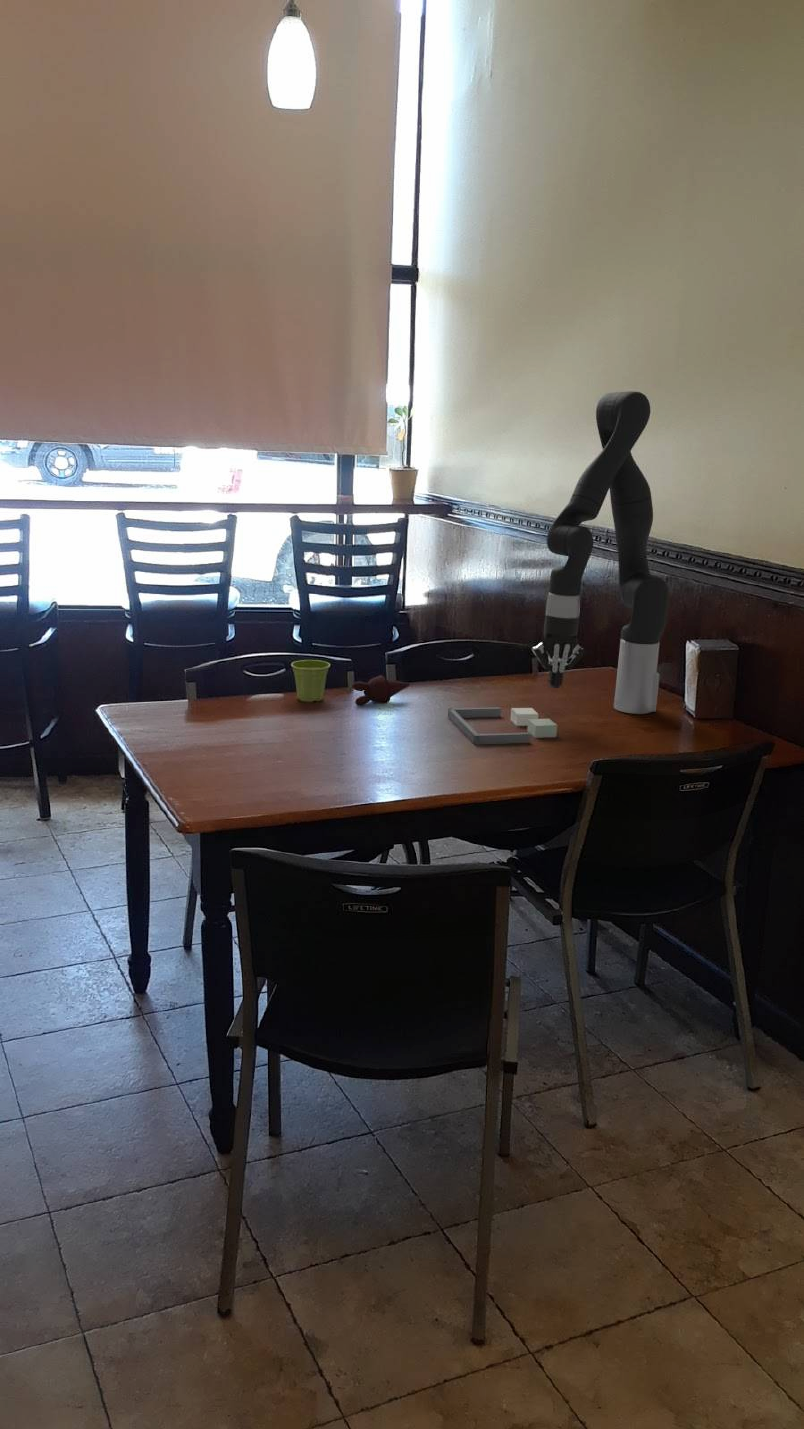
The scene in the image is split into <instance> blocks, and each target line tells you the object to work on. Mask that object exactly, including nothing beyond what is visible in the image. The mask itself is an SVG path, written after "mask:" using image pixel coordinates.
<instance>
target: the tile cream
mask: <svg viewBox="0 0 804 1429" xmlns="http://www.w3.org/2000/svg"><path fill="white" fill-rule="evenodd" d="M528 719H539V713H538V712H537V711H536V710H535V709H534V708H532V707H511V709H510V721H511V722H512V723H513V724H514V725H515V726H516V727H521V726H522V727H526V726H527V727H528Z"/></svg>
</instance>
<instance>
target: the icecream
mask: <svg viewBox="0 0 804 1429" xmlns="http://www.w3.org/2000/svg"><path fill="white" fill-rule="evenodd" d="M409 686H410V683H409V682H404V681H400V680H399V681H398V680H394V679H388V678H386V677H385V676H383V675H382V674H380V675H378V676H377V675H376V676H375V677H372V678H371V679H370V680H368V682H362V681H361V680H359V681H355V682H353V684H352V686H351V687H352V688H353V690H355V691H357V692H362V693H363V695H362V696H359V697H357V698H356V699H355V702H354V703H355V705H356V706H359V705H360V706H364V705H366V704H368V703H369V702H373V703H376V704H388V702H390V700H391V697H393V696H395V695H396V694H398V693H400V692H401V691H403V690H405V689H406V688H408V687H409Z"/></svg>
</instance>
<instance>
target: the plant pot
mask: <svg viewBox="0 0 804 1429" xmlns="http://www.w3.org/2000/svg"><path fill="white" fill-rule="evenodd" d="M290 666H291V668H292V671H293V672H292V673H294V674H293V675H294V680H295V687H296V696H297V699H298V700H299V701H301V702H306V703H312V702H314V701H316V702H320V701H322V700H324V695H325V689H326V688H325V686H326V681H327V674H328V672H329V668H330V667H331V663H330V662H327V661H325V660H324V661H323V660H317V659H303V660H301V659H300V660H297V661H293V662H292V663H291V664H290Z"/></svg>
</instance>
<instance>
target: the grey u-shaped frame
mask: <svg viewBox="0 0 804 1429" xmlns="http://www.w3.org/2000/svg"><path fill="white" fill-rule="evenodd" d="M501 716H502V708H501V707H499V706H498V707H497V706H496V707H493V706H492V707H462V708H459V707H458V708H456V707H455V708H454V707H453V708H448V712H447V717H448V719H449V720H450V721H452V723H453V724H454V725H455V726H456V727H457V728H458V729H459V730H460V731H461V732H462V733H463V734H464V735H465V737H467V738H468V739H469V741H471V742H472V744H473V745H477V746H478V745H498V744H499V745H501V744H530V743H531V740H530V739H531V734H530V733H529V732H508V733H507V732H506V733H505V732H504V733H478V732H477V731H476V730H475V729H474V727H472V726H471V725H470V724H469V723H468V722H467V721H466V720H465V718H467V719H468V718H500V717H501Z"/></svg>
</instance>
